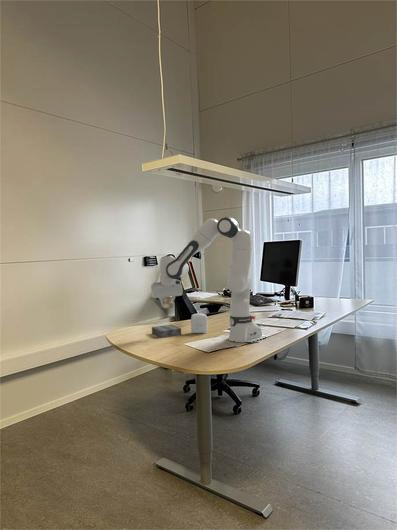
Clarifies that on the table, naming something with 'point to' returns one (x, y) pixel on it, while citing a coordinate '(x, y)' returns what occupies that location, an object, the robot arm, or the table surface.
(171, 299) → the ash block
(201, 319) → the photo printer
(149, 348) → the table surface
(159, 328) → the riser block
